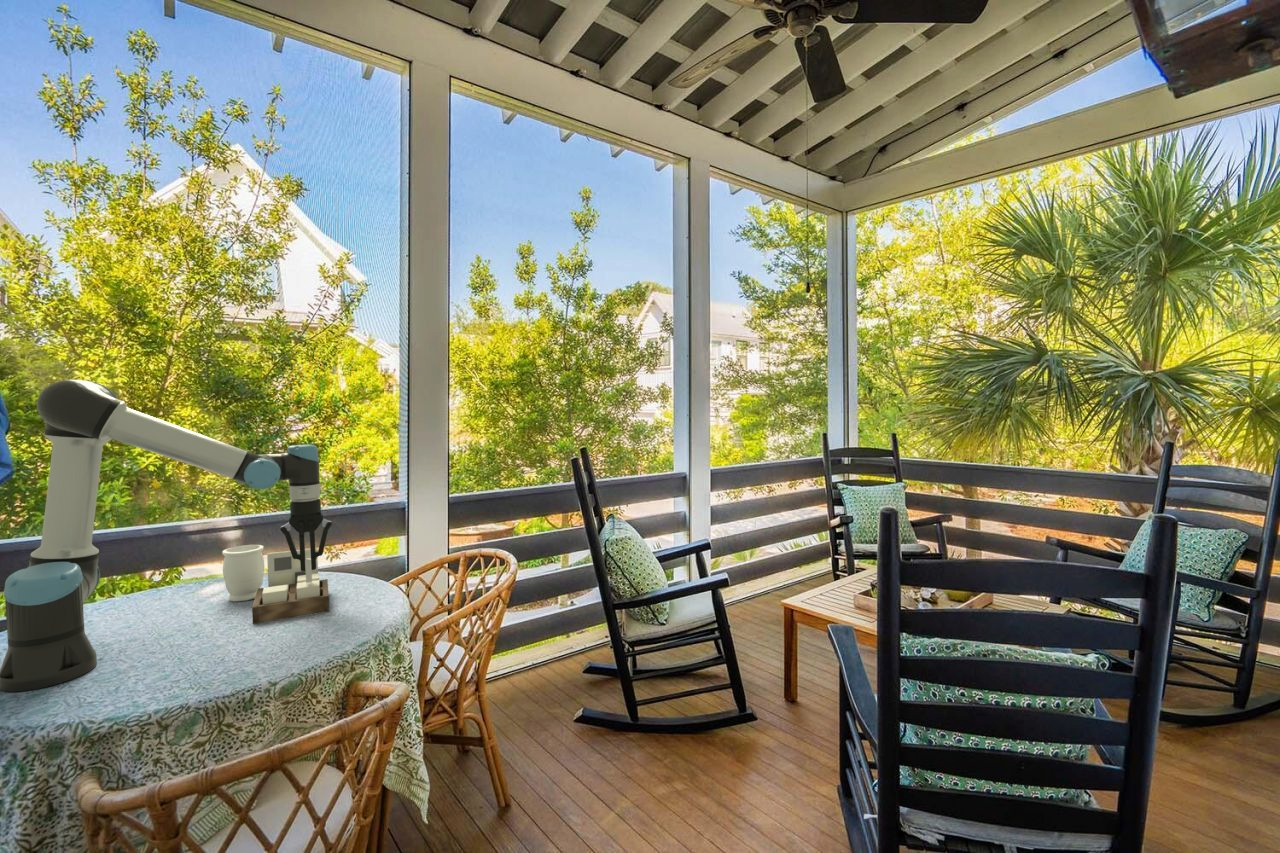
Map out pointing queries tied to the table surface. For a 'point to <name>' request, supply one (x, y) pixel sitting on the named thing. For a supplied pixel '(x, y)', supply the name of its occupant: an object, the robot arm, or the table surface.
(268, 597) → the button near left
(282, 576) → the card
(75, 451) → the robot arm
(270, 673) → the table surface
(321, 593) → the board
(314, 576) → the button far right
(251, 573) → the jar
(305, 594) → the button near right
